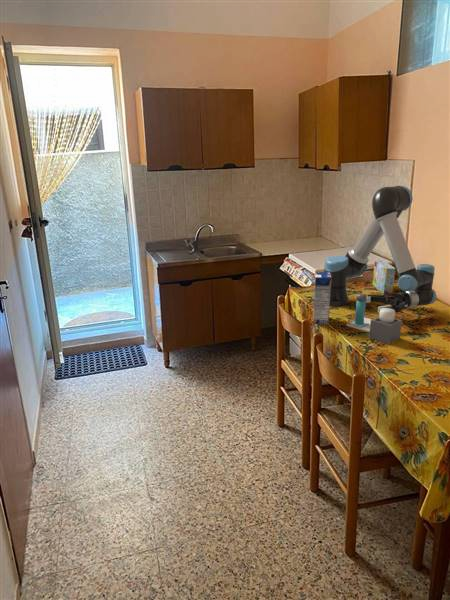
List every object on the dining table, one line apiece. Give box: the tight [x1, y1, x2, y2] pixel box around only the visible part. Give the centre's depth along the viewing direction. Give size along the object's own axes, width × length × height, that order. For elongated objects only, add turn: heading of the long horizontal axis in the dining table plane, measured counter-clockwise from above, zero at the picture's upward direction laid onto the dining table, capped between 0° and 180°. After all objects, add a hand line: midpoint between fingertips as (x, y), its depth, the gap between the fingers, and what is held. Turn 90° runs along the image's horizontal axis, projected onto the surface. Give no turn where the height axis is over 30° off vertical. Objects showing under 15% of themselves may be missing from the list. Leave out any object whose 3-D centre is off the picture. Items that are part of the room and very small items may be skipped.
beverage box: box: [312, 271, 331, 326], centre depth 205 cm, size 7×11×22 cm, turn 169°
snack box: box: [371, 259, 397, 296], centre depth 254 cm, size 21×6×15 cm, turn 179°
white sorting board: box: [346, 316, 373, 334], centre depth 202 cm, size 14×14×1 cm
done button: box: [378, 308, 396, 324], centre depth 185 cm, size 6×6×5 cm
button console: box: [368, 316, 403, 345], centre depth 187 cm, size 9×9×8 cm
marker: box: [354, 293, 368, 325], centre depth 200 cm, size 4×4×13 cm
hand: (368, 305), depth 201 cm, fingers open, 13 cm apart
